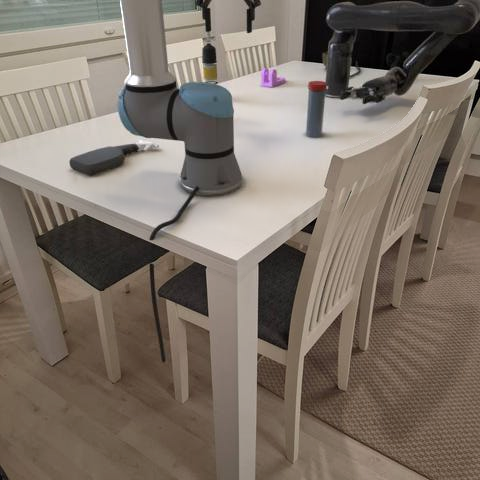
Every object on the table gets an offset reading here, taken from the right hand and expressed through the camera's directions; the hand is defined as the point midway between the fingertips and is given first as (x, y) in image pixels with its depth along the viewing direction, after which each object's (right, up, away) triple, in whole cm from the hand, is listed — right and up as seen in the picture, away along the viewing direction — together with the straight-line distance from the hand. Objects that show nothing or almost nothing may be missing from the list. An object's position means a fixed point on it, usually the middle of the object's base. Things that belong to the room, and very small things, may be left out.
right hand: (352, 98), depth 149 cm
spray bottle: (-72, -25, -24) cm, 80 cm away
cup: (+7, +37, +73) cm, 82 cm away
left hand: (-41, +18, -10) cm, 46 cm away
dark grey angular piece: (+34, +25, +52) cm, 67 cm away
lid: (-15, -1, -17) cm, 22 cm away
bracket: (-22, +23, +50) cm, 59 cm away
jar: (-14, -14, -9) cm, 22 cm away
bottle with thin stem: (-49, +10, +30) cm, 58 cm away
